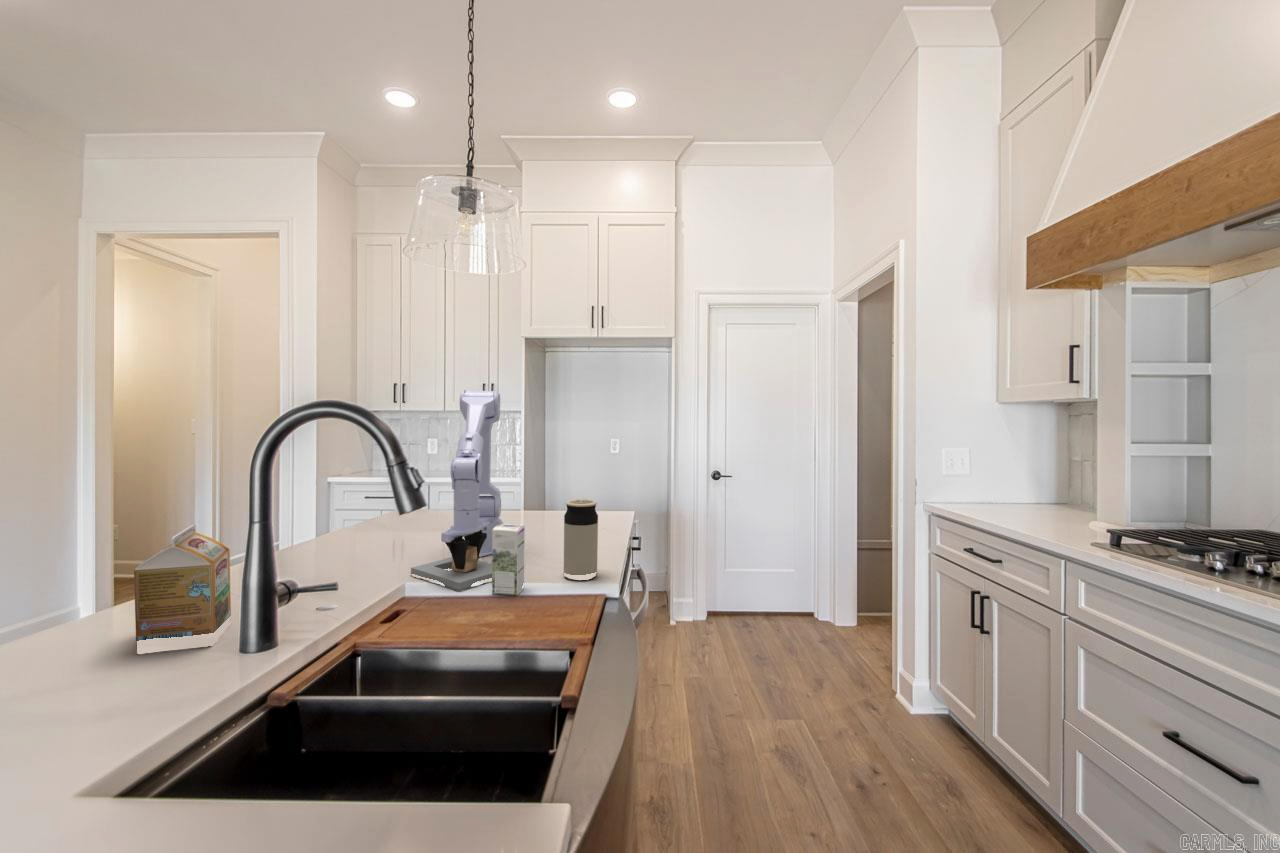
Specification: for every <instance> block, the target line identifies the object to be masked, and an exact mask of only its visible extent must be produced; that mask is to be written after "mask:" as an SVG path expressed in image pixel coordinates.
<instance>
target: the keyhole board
mask: <svg viewBox="0 0 1280 853" xmlns="http://www.w3.org/2000/svg"><path fill="white" fill-rule="evenodd" d="M448 568H449V569H452V556H451V557H448V558H444V559H440V560H435V561H433V562H428V563H423V564H420V565H415V566H412V567H410V575H411V574H415V575H418V576H421V577H425V578H429V579H433V580H437V581H439V582H441V583H443V584H444V585H445V587H444V588H446V589H449V590H453V591H455V592H459V593H460V592H462V591H467V590H469V589H471V588H470V587H471V585H472V584H473V583H475V582H477V581H481V580H485V579H489V578H492V563H489V562H486V561H481V560H479V559H478V562H477V568H475V569H473V570H472V572H469V573H463V572H460V571H453V570H450V571H448V570H444V569H448Z"/></svg>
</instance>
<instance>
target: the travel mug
mask: <svg viewBox="0 0 1280 853" xmlns="http://www.w3.org/2000/svg"><path fill="white" fill-rule="evenodd" d="M597 504H598V502H597V500H594V499H589V498H588V499H587V498H586V499H585V498H583V499H581V498H578V499H577V498H576V499H569V500H567V501H565V505H566V512H565V513H564V516H563V518H564V519H563V520H564V521H563V523H564V524H563V530H564V531H563V574H564V573H566V574H570V575H586V574H591V573H595V572H597V573H598V548H599V547H598V542H599V538H598V536H599V535H598V534H599V533H598V532H599V530H598V529H599V526H598V525H599V514H598V512H597V510H596V506H597Z"/></svg>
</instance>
